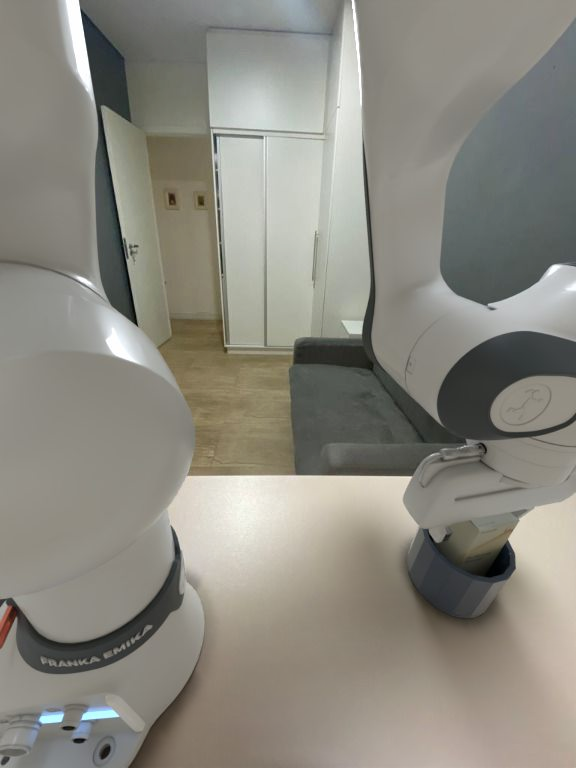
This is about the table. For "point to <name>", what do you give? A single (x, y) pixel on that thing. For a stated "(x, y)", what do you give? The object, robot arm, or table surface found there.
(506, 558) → the blue round bowl
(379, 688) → the table surface
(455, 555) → the cosmetic box
